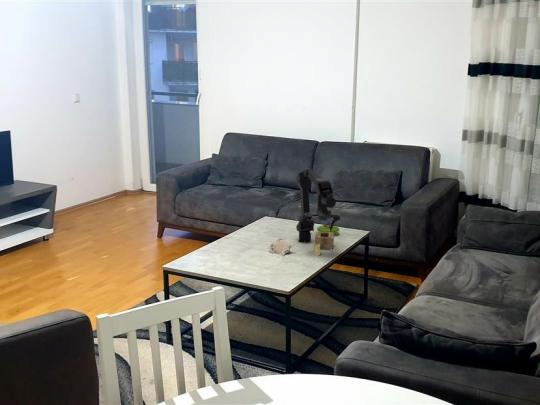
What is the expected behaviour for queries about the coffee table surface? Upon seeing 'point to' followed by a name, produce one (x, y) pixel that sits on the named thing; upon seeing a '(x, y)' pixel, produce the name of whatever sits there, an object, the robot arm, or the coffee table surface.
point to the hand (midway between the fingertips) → (321, 231)
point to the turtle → (281, 246)
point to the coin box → (324, 240)
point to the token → (317, 249)
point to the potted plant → (328, 226)
